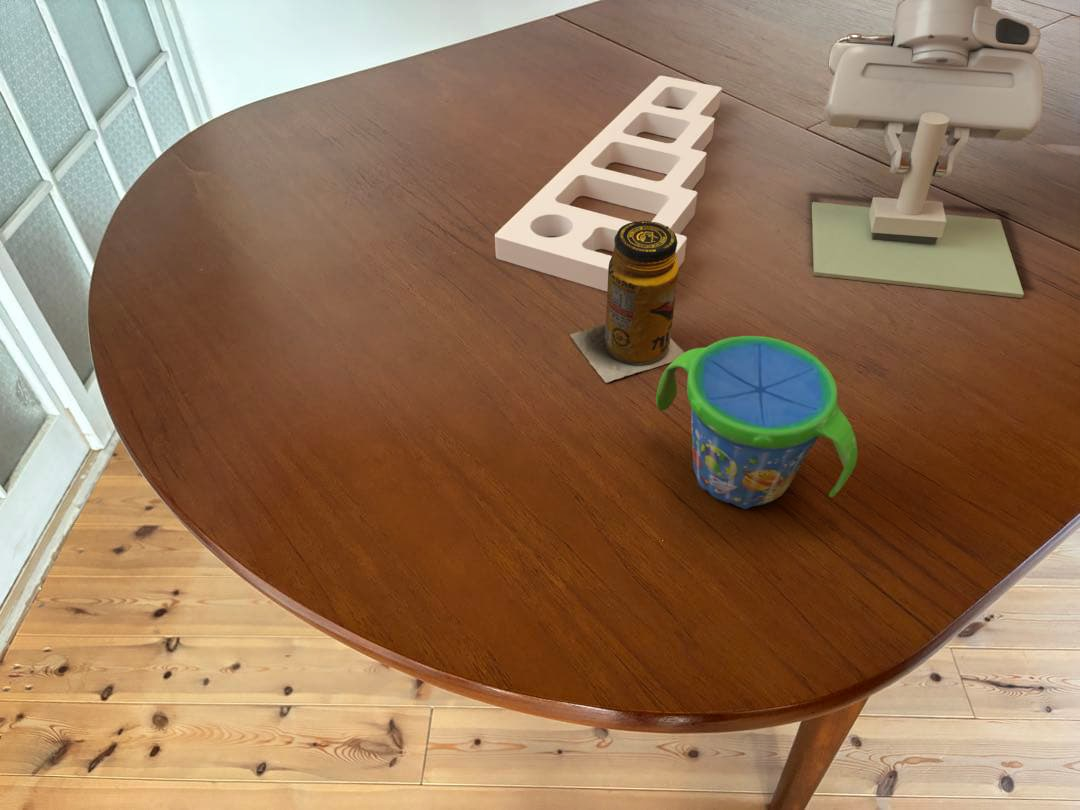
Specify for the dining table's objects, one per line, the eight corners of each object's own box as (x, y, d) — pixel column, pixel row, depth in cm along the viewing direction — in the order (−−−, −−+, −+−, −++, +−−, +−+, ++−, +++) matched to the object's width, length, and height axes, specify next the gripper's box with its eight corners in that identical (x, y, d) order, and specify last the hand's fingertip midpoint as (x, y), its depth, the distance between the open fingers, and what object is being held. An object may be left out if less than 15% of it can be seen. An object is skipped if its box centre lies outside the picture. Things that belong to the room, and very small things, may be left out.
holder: (658, 94, 119) (659, 75, 117) (785, 120, 113) (789, 100, 111) (494, 258, 91) (493, 236, 89) (651, 305, 84) (654, 282, 83)
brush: (934, 225, 93) (970, 110, 84) (938, 246, 90) (976, 129, 81) (867, 221, 94) (895, 106, 85) (869, 241, 91) (898, 125, 82)
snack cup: (863, 491, 67) (900, 396, 60) (788, 571, 61) (818, 477, 54) (702, 396, 75) (717, 302, 68) (622, 460, 69) (630, 365, 62)
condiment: (687, 357, 79) (703, 246, 70) (605, 384, 76) (611, 272, 68) (647, 313, 83) (657, 204, 75) (569, 337, 81) (571, 227, 73)
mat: (998, 223, 94) (1000, 219, 94) (1022, 298, 84) (1024, 294, 84) (811, 205, 97) (812, 201, 97) (813, 275, 88) (814, 271, 87)
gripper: (838, 17, 85) (819, 154, 85) (1059, 31, 82) (1040, 173, 82) (827, 46, 91) (809, 173, 91) (1032, 59, 88) (1014, 192, 88)
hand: (920, 174), depth 86 cm, fingers closed on brush, 3 cm apart
